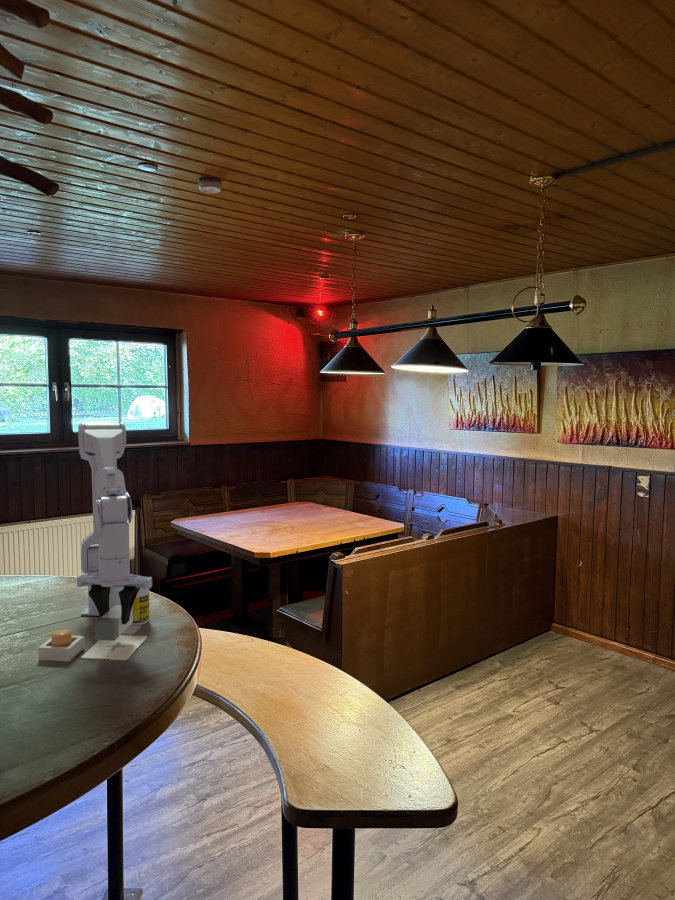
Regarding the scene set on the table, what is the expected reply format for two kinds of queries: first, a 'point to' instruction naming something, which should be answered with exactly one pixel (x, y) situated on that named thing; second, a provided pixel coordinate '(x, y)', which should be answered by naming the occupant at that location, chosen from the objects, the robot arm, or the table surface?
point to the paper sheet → (115, 648)
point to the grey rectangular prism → (111, 624)
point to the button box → (61, 650)
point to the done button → (61, 638)
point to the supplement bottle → (141, 608)
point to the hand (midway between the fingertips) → (115, 622)
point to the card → (131, 630)
